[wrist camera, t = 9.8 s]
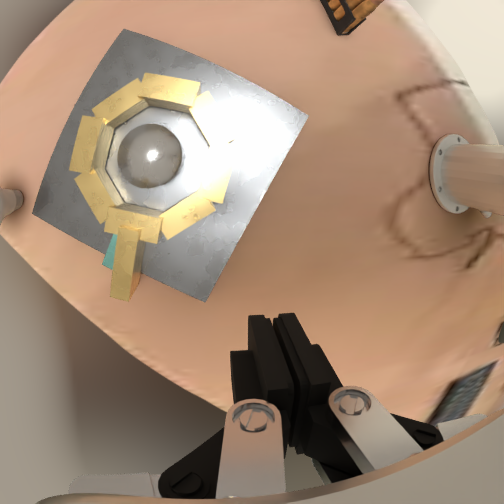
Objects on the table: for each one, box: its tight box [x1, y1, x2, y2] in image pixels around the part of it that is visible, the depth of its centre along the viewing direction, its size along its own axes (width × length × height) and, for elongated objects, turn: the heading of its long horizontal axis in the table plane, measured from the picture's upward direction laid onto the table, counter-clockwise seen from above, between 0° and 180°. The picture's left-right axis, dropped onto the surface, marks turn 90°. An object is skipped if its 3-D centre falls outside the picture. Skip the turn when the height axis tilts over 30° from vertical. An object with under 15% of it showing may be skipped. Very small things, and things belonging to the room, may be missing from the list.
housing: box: [32, 29, 309, 302], centre depth 27 cm, size 24×25×6 cm
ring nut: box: [69, 73, 238, 302], centre depth 25 cm, size 21×15×5 cm
